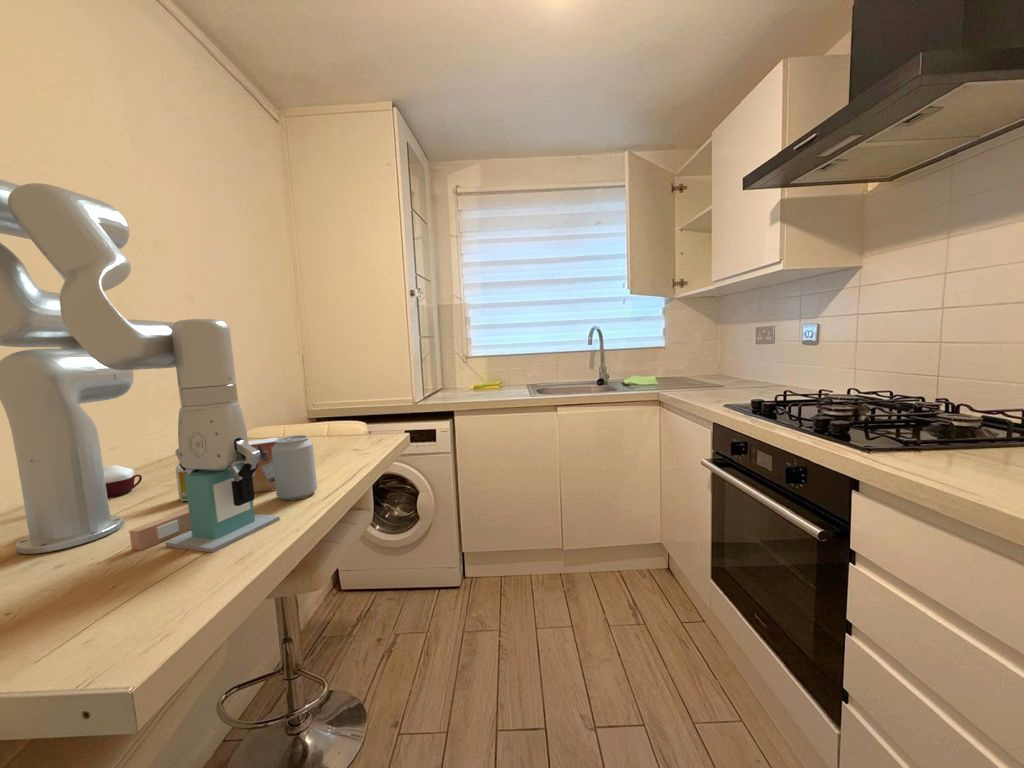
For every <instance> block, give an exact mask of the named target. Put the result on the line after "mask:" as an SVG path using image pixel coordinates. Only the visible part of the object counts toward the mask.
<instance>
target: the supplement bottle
mask: <svg viewBox="0 0 1024 768" xmlns="http://www.w3.org/2000/svg"><path fill="white" fill-rule="evenodd" d="M184 472H185V471H184V470H183V469H182V468H181V466H180V463H178V464H177V465H176V467H175V474H176V481H177V482H176V484H177V490H178V498H179V502H183V501H188V500H187V492H186V485H185V477H184Z"/></svg>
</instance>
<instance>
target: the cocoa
mask: <svg viewBox="0 0 1024 768" xmlns="http://www.w3.org/2000/svg"><path fill="white" fill-rule="evenodd" d="M103 470H104V477H105V483H106V490H107V497H108V498H109V497H112V498H117V496H118V497H121V496H125V495H128V494H129V493H130V492H131V491H132V490H133V489H135V488H136V487H137V486H138V485H139V484H140V483H141V482H142V480H143V476H142V475H141V474H135V471H134V469H133V468H130V467H124V466H120V465H108V466H105V467H104V466H103ZM134 474H135V475H134ZM136 477H139V479H138V481H137V482H136V483H135V478H136ZM124 494H125V495H124Z"/></svg>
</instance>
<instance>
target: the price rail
mask: <svg viewBox="0 0 1024 768" xmlns="http://www.w3.org/2000/svg"><path fill="white" fill-rule="evenodd" d="M190 529H191V523H190V515H189V508H187V509H184V510H182V511H178V512H176V513H173V514H170V515H168V516H165V517H162V518H160V519H157V520H154V521H152V522H149V523H147V524H144V525H143V524H142V525H141V526H140V525H139V526H138V527H135V528H133V529H131V530H128V532H129V537H130V538H129V539H130V545H131V550H133V551H134V550H135V551H144V550H145V549H148V548H150V547H153V546H155V545H157V544H160V543H163V542H164V541H165V542H166V541H167V540H170V539H171V538H173V537H178V536H179V535H181V534H182V535H183V534H185V533H186V532H189V531H191V530H190ZM188 530H189V531H188Z"/></svg>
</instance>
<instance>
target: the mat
mask: <svg viewBox="0 0 1024 768" xmlns="http://www.w3.org/2000/svg"><path fill="white" fill-rule="evenodd" d="M254 517H255V521H254V522H252V523H250V524H248V525H246V526H244V527H241V528H239V529H237V530H235V531H233V532H231V533H228V534H226V535H224V536H222V537H220V538H217V539H215V540H214V539H206V538H198V537H192V531H191V530H190V531H188V532H187V533H183V534H182V535H180V536H176V537H175V538H173V539H171V540H170V539H169V540H168V541H165V546H166V547H170V548H175V549H177V548H178V549H182V550H183V549H184V550H192V551H197V552H198V551H199V552H206V553H212V554H213V553H215V552H217V551H219V550H221V549H223V548H226V547H228V546H229V545H231V544H233V543H236V542H238V541H239V540H242V539H243V538H245V537H247V536H249V535H251V534H253V533H255V532H258V531H260V530H261V529H264V528H266V527H268V526H270V525H272V524H274V523H276V522H278V521H280V520H281V517H280V516H278V515H270V514H269V515H268V514H258V513H254Z"/></svg>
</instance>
